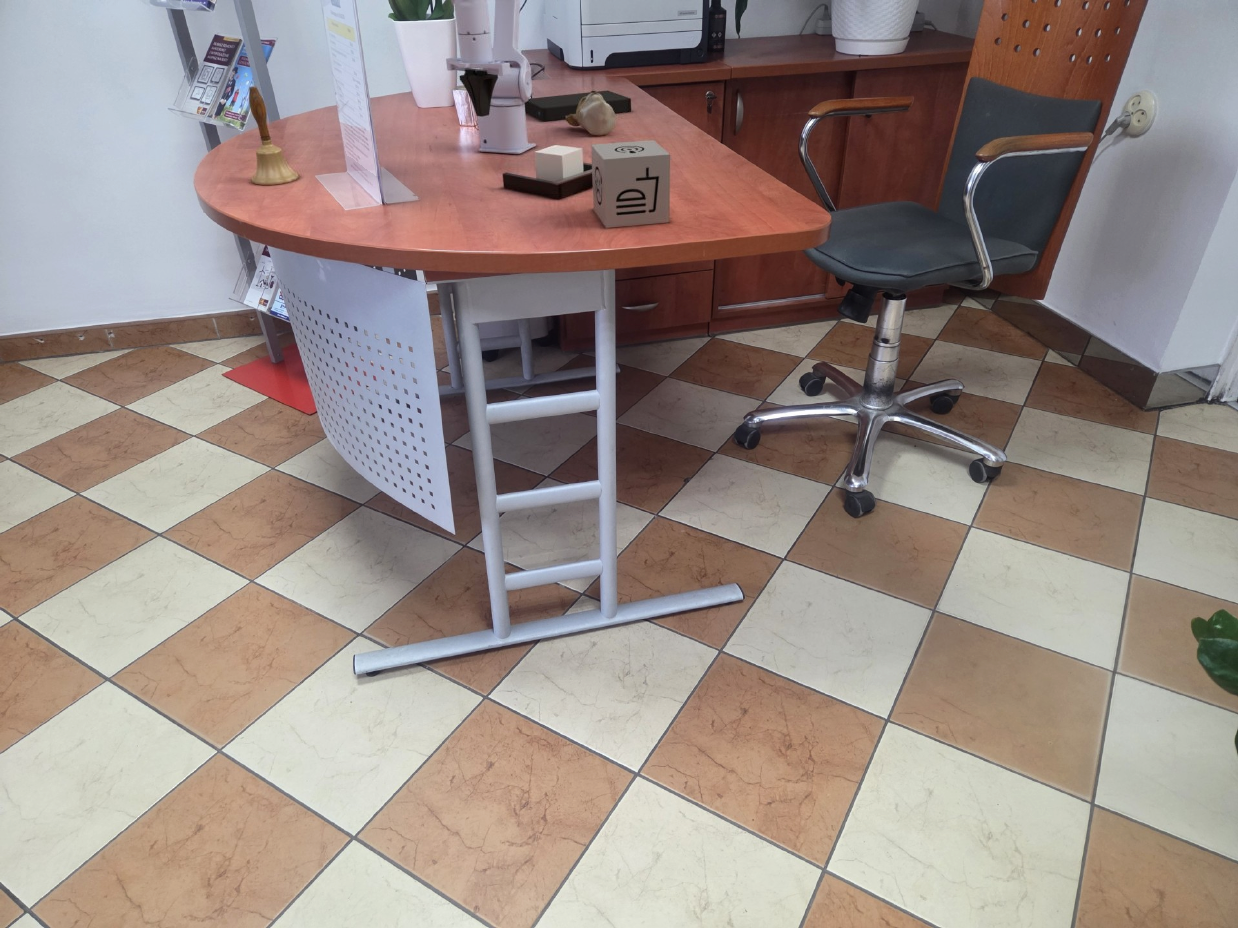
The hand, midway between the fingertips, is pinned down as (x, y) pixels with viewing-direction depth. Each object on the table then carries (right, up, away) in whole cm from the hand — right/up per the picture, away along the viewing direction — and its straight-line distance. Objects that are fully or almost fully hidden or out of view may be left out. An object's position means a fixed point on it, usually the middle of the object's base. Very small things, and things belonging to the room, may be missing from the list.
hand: (483, 115), depth 149 cm
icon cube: (+27, -26, -22) cm, 44 cm away
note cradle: (+14, -15, -6) cm, 21 cm away
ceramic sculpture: (+20, +10, +31) cm, 38 cm away
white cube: (+15, -15, -6) cm, 22 cm away
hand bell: (-39, -12, +2) cm, 41 cm away
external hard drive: (+15, +23, +50) cm, 57 cm away
